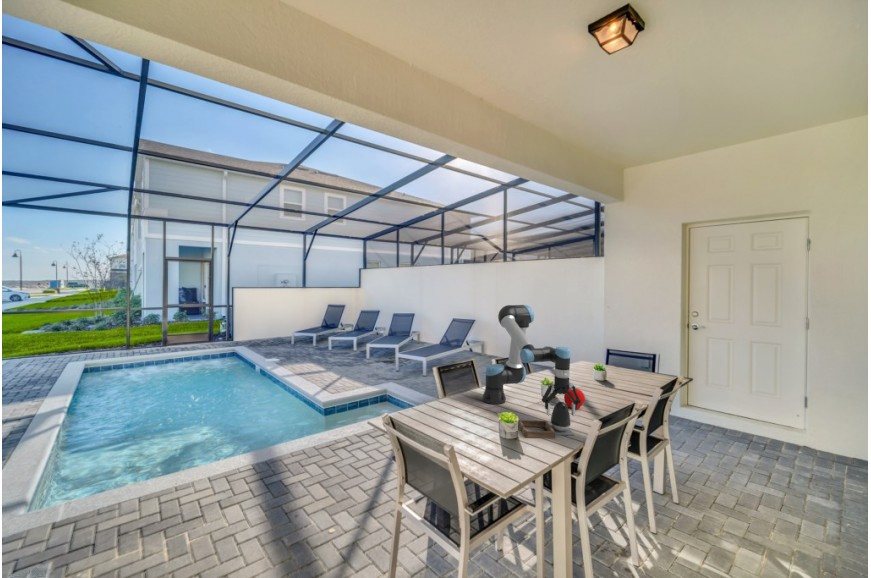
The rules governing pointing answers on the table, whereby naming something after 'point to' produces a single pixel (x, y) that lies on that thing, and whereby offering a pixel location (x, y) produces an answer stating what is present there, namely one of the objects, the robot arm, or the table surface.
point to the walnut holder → (536, 434)
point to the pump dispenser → (560, 417)
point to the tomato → (569, 401)
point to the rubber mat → (563, 432)
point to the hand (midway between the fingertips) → (560, 415)
